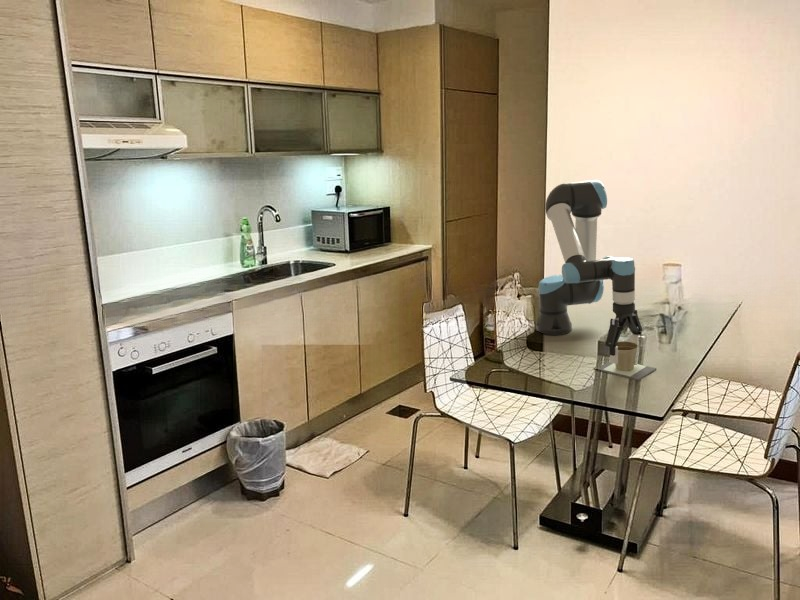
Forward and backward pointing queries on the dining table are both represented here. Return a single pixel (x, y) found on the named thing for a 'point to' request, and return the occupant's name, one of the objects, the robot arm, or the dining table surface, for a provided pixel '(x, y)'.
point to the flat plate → (628, 371)
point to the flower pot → (626, 355)
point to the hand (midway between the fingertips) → (624, 357)
